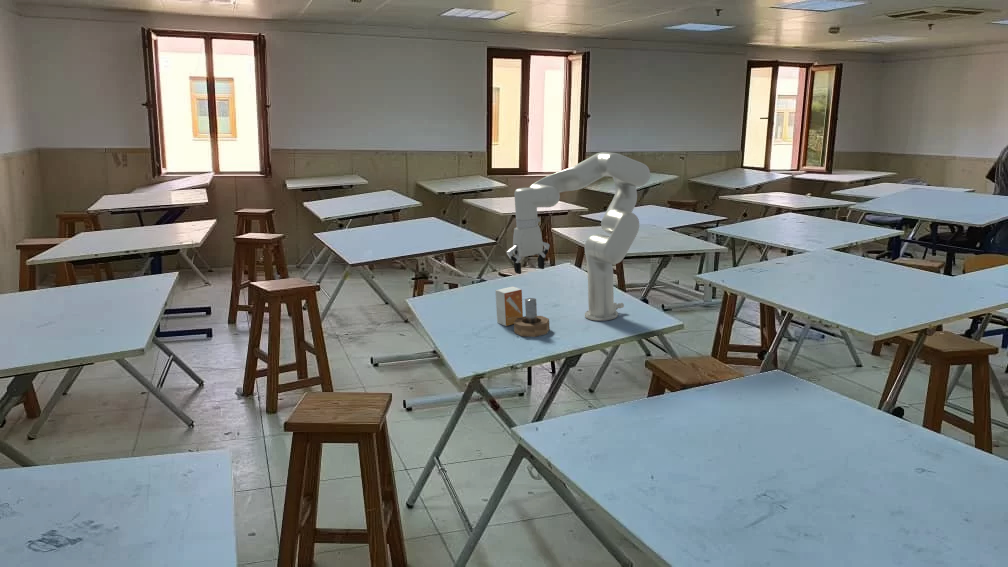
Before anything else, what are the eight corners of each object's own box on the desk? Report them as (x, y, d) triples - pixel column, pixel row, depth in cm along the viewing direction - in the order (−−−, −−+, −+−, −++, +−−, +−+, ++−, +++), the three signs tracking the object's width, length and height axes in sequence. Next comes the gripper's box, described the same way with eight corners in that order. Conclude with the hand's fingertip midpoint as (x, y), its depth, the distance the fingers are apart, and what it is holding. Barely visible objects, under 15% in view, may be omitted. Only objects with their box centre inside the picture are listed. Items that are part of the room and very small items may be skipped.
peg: (533, 328, 259) (532, 297, 256) (539, 331, 256) (538, 299, 253) (524, 330, 258) (522, 299, 254) (530, 333, 254) (528, 301, 251)
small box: (506, 326, 264) (504, 293, 260) (496, 322, 269) (494, 289, 265) (523, 322, 268) (522, 289, 264) (514, 318, 273) (512, 285, 270)
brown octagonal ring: (537, 323, 265) (536, 313, 264) (554, 331, 255) (554, 321, 254) (509, 330, 259) (508, 319, 258) (526, 338, 249) (526, 328, 248)
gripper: (541, 218, 254) (544, 264, 258) (500, 225, 246) (503, 273, 250) (553, 221, 248) (555, 268, 252) (511, 228, 239) (514, 277, 244)
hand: (529, 270), depth 251 cm, fingers open, 9 cm apart
